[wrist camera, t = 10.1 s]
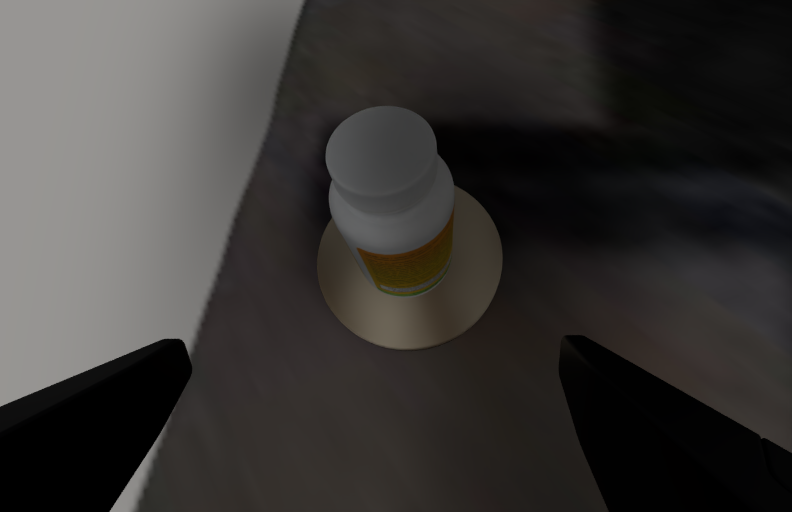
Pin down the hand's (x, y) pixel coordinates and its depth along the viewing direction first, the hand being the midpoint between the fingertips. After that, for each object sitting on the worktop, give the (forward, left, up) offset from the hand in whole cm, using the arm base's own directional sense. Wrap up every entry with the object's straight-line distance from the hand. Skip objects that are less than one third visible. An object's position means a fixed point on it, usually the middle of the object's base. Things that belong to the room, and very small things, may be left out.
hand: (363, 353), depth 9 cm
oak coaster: (+4, +6, -12) cm, 14 cm away
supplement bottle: (+4, +6, -11) cm, 13 cm away
